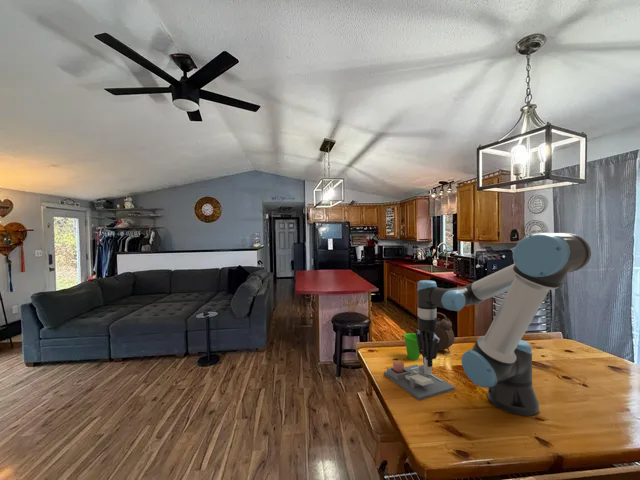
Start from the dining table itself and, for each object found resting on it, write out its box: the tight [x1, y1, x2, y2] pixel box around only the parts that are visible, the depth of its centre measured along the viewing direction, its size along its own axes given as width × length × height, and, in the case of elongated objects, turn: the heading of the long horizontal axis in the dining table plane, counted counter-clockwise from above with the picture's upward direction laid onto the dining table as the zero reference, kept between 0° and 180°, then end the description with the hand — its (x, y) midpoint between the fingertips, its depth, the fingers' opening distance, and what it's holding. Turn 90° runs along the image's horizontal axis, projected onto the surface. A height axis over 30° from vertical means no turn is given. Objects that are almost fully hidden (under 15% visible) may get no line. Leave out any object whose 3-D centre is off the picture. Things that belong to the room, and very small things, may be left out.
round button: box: [392, 360, 405, 374], centre depth 122 cm, size 4×4×3 cm
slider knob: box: [418, 364, 429, 376], centre depth 122 cm, size 3×3×4 cm
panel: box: [383, 364, 456, 401], centre depth 118 cm, size 22×18×4 cm
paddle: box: [405, 373, 433, 386], centre depth 114 cm, size 10×5×1 cm, turn 22°
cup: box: [403, 332, 421, 361], centre depth 141 cm, size 9×9×11 cm
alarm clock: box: [435, 311, 455, 354], centre depth 150 cm, size 14×7×20 cm, turn 36°
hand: (427, 373), depth 120 cm, fingers closed
